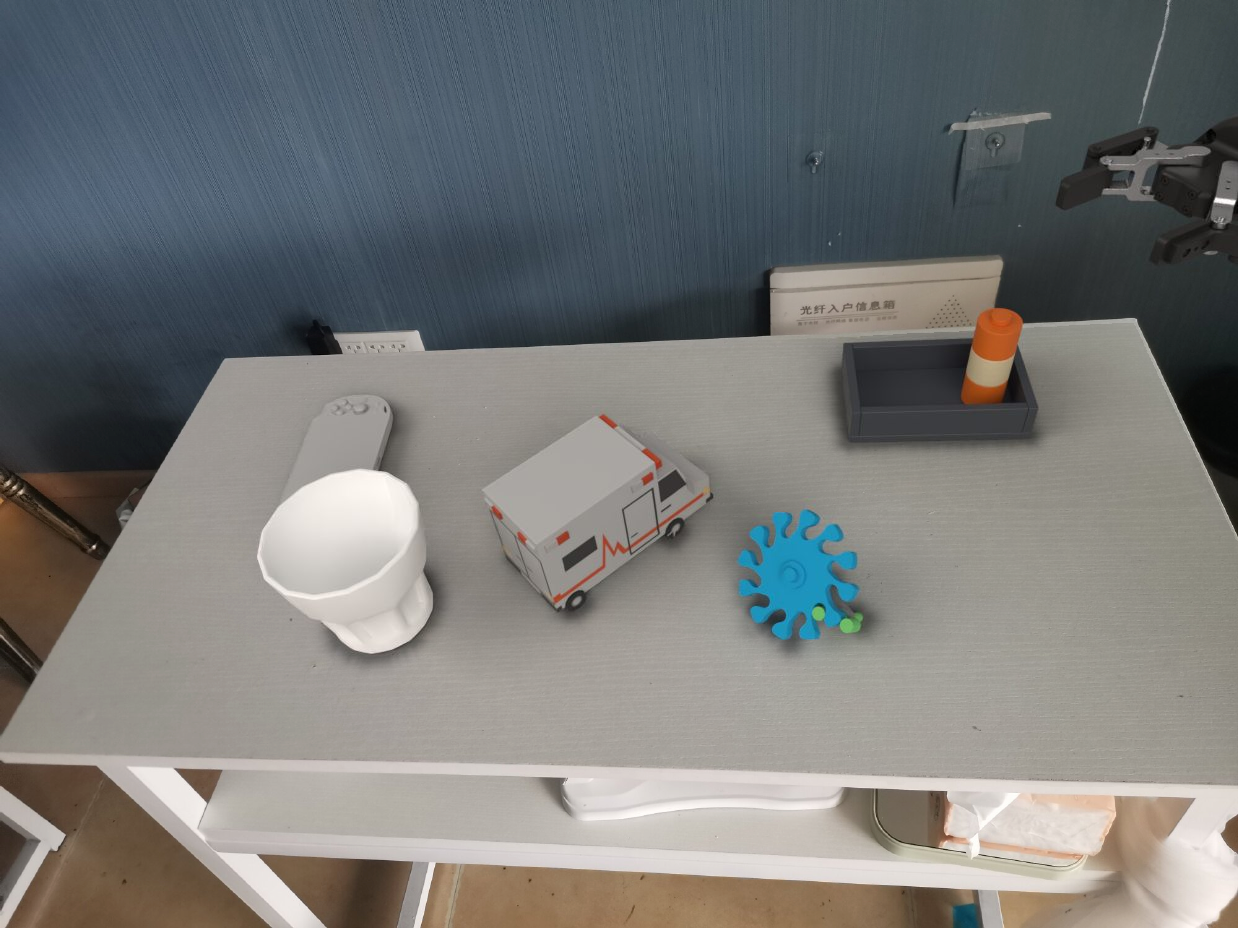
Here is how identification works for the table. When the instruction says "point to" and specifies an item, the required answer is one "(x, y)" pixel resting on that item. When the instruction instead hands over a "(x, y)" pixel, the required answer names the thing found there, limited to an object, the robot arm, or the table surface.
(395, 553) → the cup
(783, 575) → the gear
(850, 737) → the table surface
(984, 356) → the orange cylinder
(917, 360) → the bin
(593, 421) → the toy vehicle
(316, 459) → the game console
